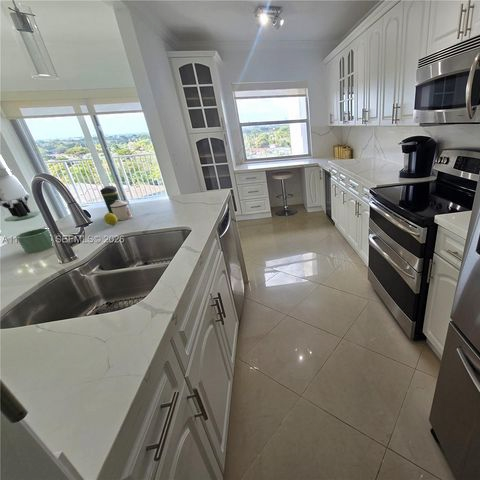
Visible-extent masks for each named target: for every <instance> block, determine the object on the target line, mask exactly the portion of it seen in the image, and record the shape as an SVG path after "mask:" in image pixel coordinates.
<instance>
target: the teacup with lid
mask: <svg viewBox="0 0 480 480" xmlns="http://www.w3.org/2000/svg"><path fill="white" fill-rule="evenodd" d="M110 208H111V209H112V211H113V214H114V215H115V216H116V218H117V221H125V220H129V219H131V218H132V217H133V214H132V212H131V208H130V206H129V203H128V201H122V200H121V201H119V200H115V202H114V203H113V204H112V205H110Z"/></svg>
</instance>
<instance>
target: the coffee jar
mask: <svg viewBox="0 0 480 480" xmlns="http://www.w3.org/2000/svg"><path fill="white" fill-rule="evenodd" d="M99 192H100V194H101V196H102V198H103V201H104V203H105V206H106V209H107V211H108V213H112V214H113V211H112V209H111V208H110V205H112V204H113V203H114V202H115V200H119V201H122V199H121V197H120V195H119V192H118V189H117V187H116V186H113V185H105V186H104V187H103V188H101V189H100V191H99Z"/></svg>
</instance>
